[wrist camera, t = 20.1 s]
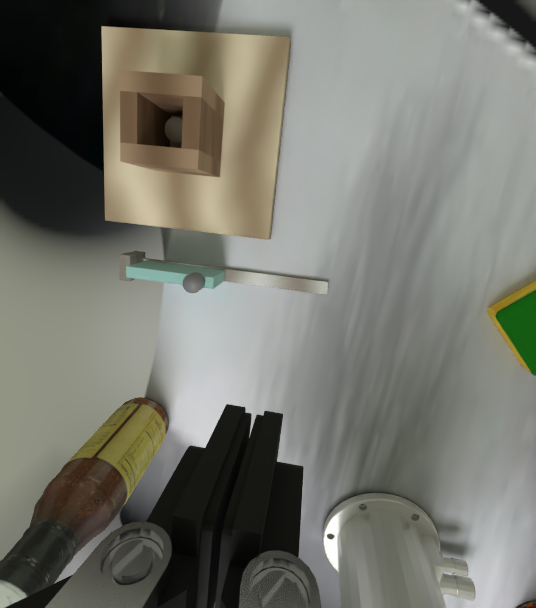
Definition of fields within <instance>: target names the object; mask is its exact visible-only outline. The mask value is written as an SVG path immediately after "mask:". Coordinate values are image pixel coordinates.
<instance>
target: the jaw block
mask: <svg viewBox="0 0 536 608" xmlns="http://www.w3.org/2000/svg"><path fill="white" fill-rule="evenodd" d="M224 107H225V103H224V101H223V100H222V99H221V98H220V97H219V95H218V94H217V93H216V92H215V90H214V89H213V88H212V87H211V86H210V84H209V83H208V82H207V81H206V80H205V78H204V77H203V76H195V75H182V74H168V73H154V72H140V71H127V70H120V161H121V162H125V163H128V164H132V165H136V166H140V167H143V168H147V169H151V170H155V171H162V172H172V173H182V174H191V175H201V176H211V177H220V168H221V153H222V137H223V122H224ZM171 115H174V116H183V121H182V147H181V148H173V147H170V142H171V140H170V139H168V137H167V136H166V134H165V124H166V122H167V121H168V120H169V119H170V118H171Z"/></svg>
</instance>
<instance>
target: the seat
mask: <svg viewBox="0 0 536 608" xmlns="http://www.w3.org/2000/svg"><path fill="white" fill-rule="evenodd" d="M290 47H291V42H290V37H281V36H263V35H245V34H228V33H210V32H193V31H175V30H157V29H140V28H122V27H104V26H102V75H103V130H104V177H105V178H104V181H105V182H104V184H105V220H107V221H115V222H124V223H132V224H141V225H149V226H157V227H166V228H174V229H183V230H191V231H200V232H208V233H217V234H225V235H234V236H242V237H251V238H259V239H268V240H269V239H270V238H271V228H272V219H273V209H274V200H275V190H276V181H277V171H278V162H279V152H280V143H281V133H282V124H283V114H284V105H285V95H286V85H287V76H288V66H289V57H290ZM120 70H127V71H140V72H154V73H168V74H182V75H195V76H203V77H204V78H205V80H206V81H207V82H208V83H209V84H210V86H211V87H212V88H213V89H214V90H215V92H216V93H217V94H218V95H219V97H220V98H221V99H222V100H223V101H224V103H225V107H224V122H223V137H222V153H221V168H220V177H211V176H201V175H191V174H182V173H172V172H162V171H155V170H151V169H147V168H143V167H140V166H136V165H132V164H128V163H125V162H121V161H120ZM182 121H183V116H174V115H171V118H170V119H169V120H168V121H167V122H166V124H165V134H166V136H167V137H168V139H170V140H171V142H170V147H173V148H181V147H182ZM147 260H148V261H155V262H163V263H171V264H179V265H186V266H194V267H202V268H210V269H217V270H225V280H224V281H228V282H235V283H243V284H250V285H258V286H265V287H273V288H280V289H288V290H296V291H303V292H311V293H318V294H326V295H327V289H328V282H326V281H318V280H310V279H303V278H295V277H287V276H279V275H272V274H264V273H256V272H248V271H240V270H233V269H225V268H217V267H209V266H201V265H194V264H186V263H178V262H170V261H163V260H162V261H161V260H155V259H146V258H145V252H138V251H134V252H129V253H124V254H120V280H126V281H131V280H134V279H135V278H128V277H126V266H129V265H133V264H136V263H140V262H143V261H147Z"/></svg>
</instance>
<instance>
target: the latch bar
mask: <svg viewBox="0 0 536 608" xmlns="http://www.w3.org/2000/svg"><path fill="white" fill-rule="evenodd" d="M126 277H128V278H135V279H143V280H151V281H158V282H165V283H172V284H180V285H183V287H184V289H185V290H186V291H187V292H189V293H196V292H198V291H199V290H201V289H202V288H209V289H213V288H215V287H216V286H218V285H219V284H220V283H222V282H223V281H224V280H225V270H217V269H210V268H202V267H194V266H186V265H179V264H171V263H163V262H155V261H148V260H147V261H143V262H140V263H136V264H133V265H129V266H126Z"/></svg>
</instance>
